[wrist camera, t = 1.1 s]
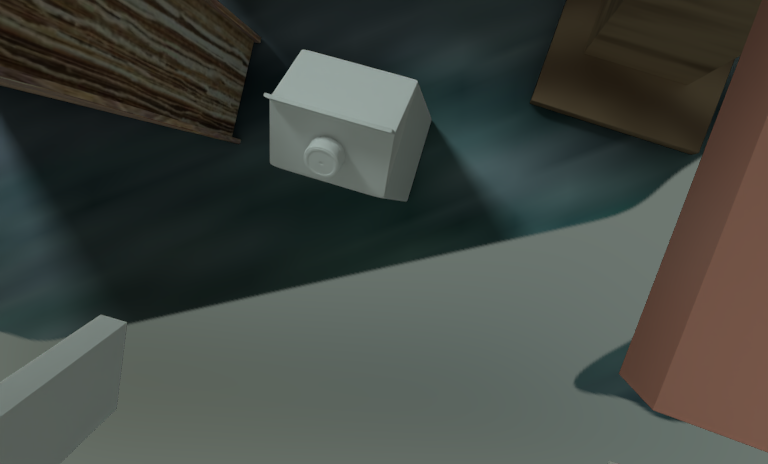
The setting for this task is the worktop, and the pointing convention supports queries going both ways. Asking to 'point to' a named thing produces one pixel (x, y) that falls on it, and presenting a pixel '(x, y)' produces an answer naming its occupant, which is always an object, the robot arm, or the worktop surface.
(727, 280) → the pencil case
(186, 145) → the worktop surface
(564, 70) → the shelf stand
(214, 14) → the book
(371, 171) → the milk carton
